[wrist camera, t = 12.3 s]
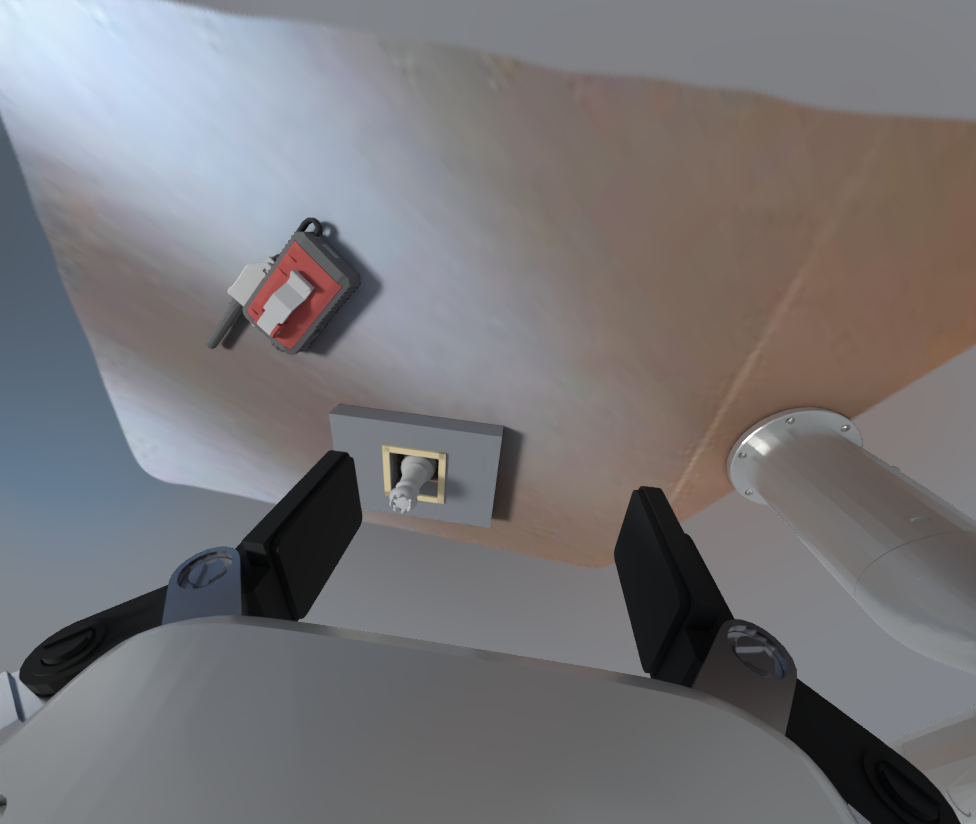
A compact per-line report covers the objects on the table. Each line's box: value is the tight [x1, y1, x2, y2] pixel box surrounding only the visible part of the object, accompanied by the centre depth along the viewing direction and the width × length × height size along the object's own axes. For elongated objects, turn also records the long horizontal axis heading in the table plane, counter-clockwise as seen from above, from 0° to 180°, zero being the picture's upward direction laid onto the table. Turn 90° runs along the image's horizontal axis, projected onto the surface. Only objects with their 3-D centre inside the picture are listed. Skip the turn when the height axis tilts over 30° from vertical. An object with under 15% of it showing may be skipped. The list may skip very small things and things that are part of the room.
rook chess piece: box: [389, 455, 437, 514], centre depth 41 cm, size 4×4×8 cm
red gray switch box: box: [206, 218, 360, 355], centre depth 35 cm, size 9×4×20 cm
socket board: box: [329, 404, 503, 528], centre depth 43 cm, size 20×14×3 cm
